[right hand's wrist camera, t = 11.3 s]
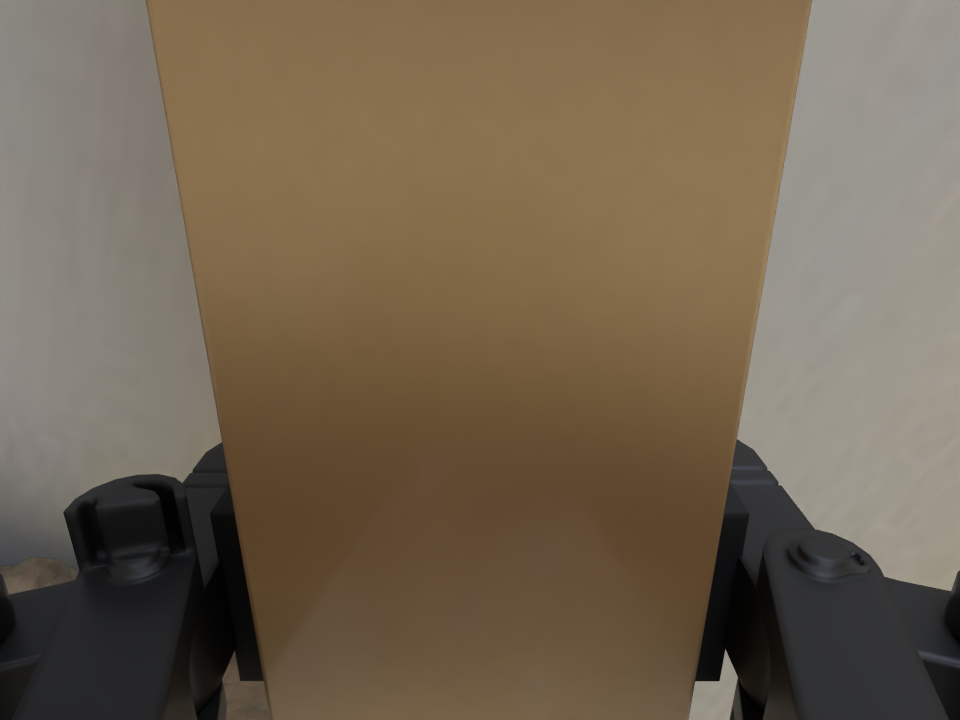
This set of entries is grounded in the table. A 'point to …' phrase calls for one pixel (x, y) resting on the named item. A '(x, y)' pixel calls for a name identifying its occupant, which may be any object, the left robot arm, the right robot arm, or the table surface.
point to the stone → (242, 697)
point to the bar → (479, 332)
